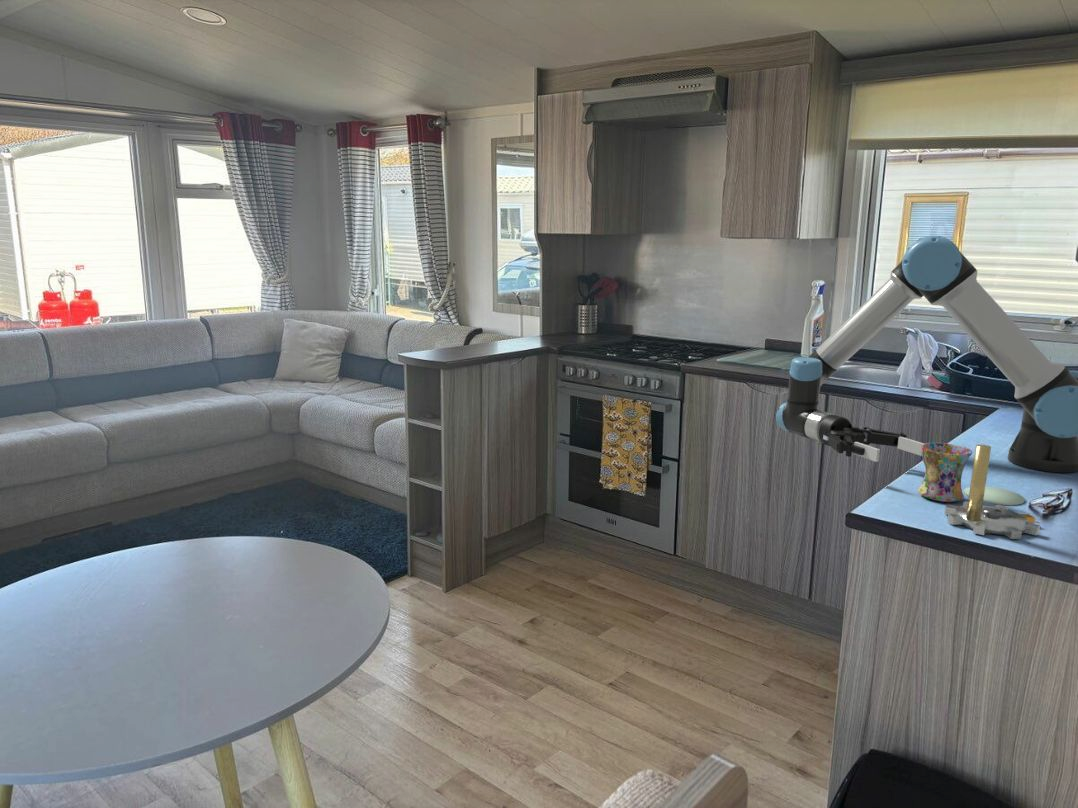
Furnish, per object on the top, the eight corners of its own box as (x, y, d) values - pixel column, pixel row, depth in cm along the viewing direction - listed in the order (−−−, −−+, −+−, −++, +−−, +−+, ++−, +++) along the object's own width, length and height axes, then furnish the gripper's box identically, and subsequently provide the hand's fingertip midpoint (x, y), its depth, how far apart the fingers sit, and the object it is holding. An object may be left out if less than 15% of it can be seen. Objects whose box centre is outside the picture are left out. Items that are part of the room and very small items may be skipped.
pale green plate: (987, 485, 174) (987, 483, 174) (1036, 501, 164) (1036, 499, 164) (952, 491, 170) (952, 489, 169) (1000, 508, 160) (1000, 506, 160)
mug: (975, 504, 162) (982, 454, 159) (932, 506, 160) (939, 455, 158) (939, 486, 173) (945, 438, 171) (899, 487, 172) (904, 439, 170)
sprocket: (981, 505, 160) (992, 430, 157) (1055, 531, 147) (1069, 450, 144) (927, 515, 154) (938, 437, 151) (1000, 543, 141) (1013, 458, 137)
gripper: (865, 440, 199) (938, 463, 180) (787, 449, 189) (856, 475, 170) (869, 410, 197) (943, 431, 178) (790, 418, 187) (860, 441, 168)
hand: (901, 452), depth 174 cm, fingers open, 13 cm apart
